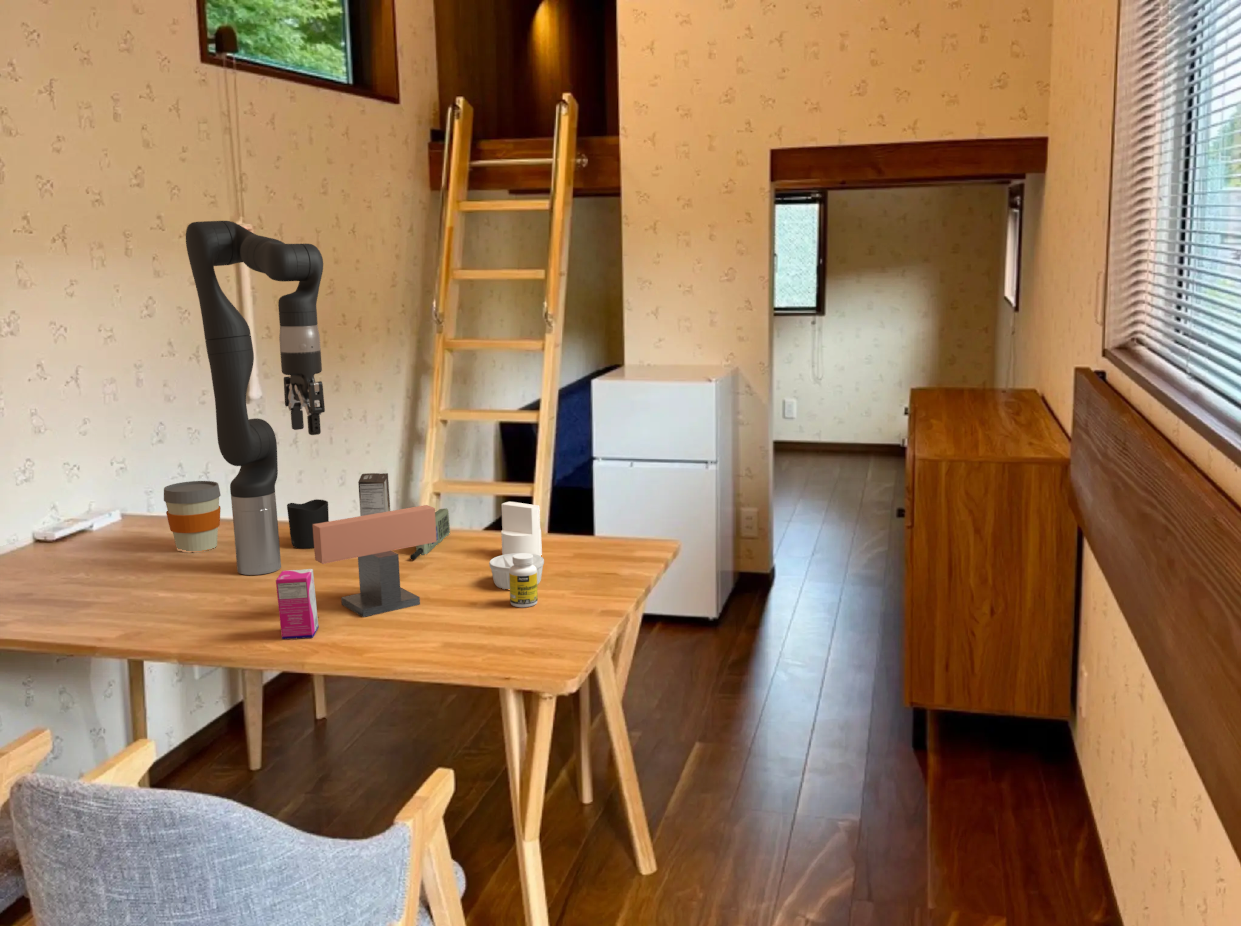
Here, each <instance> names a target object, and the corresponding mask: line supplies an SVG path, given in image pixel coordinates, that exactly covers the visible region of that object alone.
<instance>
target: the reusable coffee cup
mask: <svg viewBox="0 0 1241 926" xmlns="http://www.w3.org/2000/svg"><path fill="white" fill-rule="evenodd" d="M221 496H222V495H221V490H220V485H219V482H216V481H214V480H213V481H212V480H211V481H210V480H193V481H184V482H183V481H182V482H177V483H172V484H169V485H167V486H165V487H163V501H164V503H165V507H166V510H167V511H166V512H165V513H166V518H167V522H168V526H169V530H170V531H171V533H172V535H173V539H174V543H175V546H176V547H177V548H178V549H182V550H186V551H202V550H207V549H212V548H214V549H216V548H217V547H218V533H219V530H218V529H219V527H220V526H221V525H220V524H221V510H222V509H221V506H220V497H221ZM216 546H217V547H216ZM176 547H175V548H176ZM215 547H216V548H215ZM177 548H176V549H177ZM212 550H213V549H212Z"/></svg>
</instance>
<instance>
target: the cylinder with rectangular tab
mask: <svg viewBox="0 0 1241 926" xmlns="http://www.w3.org/2000/svg"><path fill="white" fill-rule="evenodd" d="M540 509H541V508H540V505H538V504H529V503H524V502H523V503H522V502H517V501H506V502H503V503H501V526H502V530H501V531H500V532H501V533H500V534H501V553H502V555H505V554H513V553H530V554H536V555H539V556H541V555H542V556H543V548H542V529H541V513H540V512H541V511H540Z"/></svg>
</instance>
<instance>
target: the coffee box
mask: <svg viewBox="0 0 1241 926" xmlns="http://www.w3.org/2000/svg"><path fill="white" fill-rule="evenodd" d="M389 481H390V480H389V473H388V472H387V473H383V472H382V473H378V472H376V473H375V472H372V473H371V472H370V473H362V474H361V476H360V477H359V479H358V482H357V483H358V496H359V513H360V515H359V516H364V515H370V514H376V513H382V512H388V511H391V501H390V500H391V497H390V486H389V485H390V484H389Z"/></svg>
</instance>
